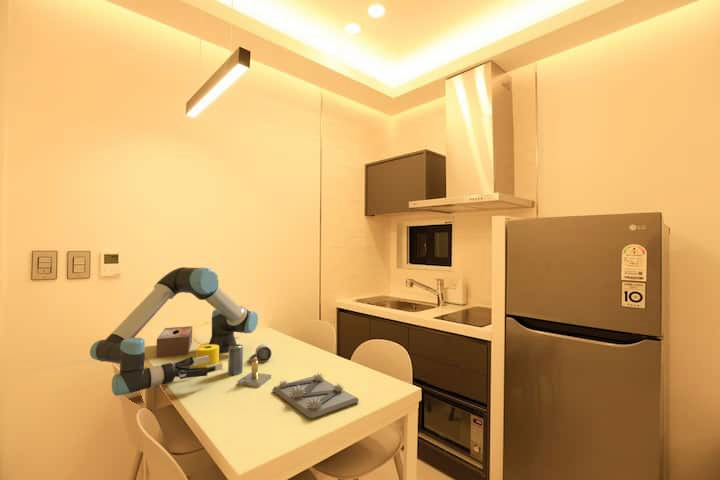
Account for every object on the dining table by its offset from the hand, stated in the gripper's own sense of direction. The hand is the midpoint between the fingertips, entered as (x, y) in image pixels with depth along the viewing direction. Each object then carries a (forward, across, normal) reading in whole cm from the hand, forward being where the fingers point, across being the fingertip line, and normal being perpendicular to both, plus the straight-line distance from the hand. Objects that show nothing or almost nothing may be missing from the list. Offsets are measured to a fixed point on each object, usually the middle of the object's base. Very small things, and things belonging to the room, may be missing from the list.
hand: (215, 362), depth 148 cm
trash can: (+9, 0, -7) cm, 12 cm away
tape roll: (+4, -16, -7) cm, 18 cm away
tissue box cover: (+3, -57, -8) cm, 58 cm away
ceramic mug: (+26, -7, -7) cm, 28 cm away
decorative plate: (+19, +46, -8) cm, 50 cm away
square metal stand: (+10, +16, -7) cm, 20 cm away
